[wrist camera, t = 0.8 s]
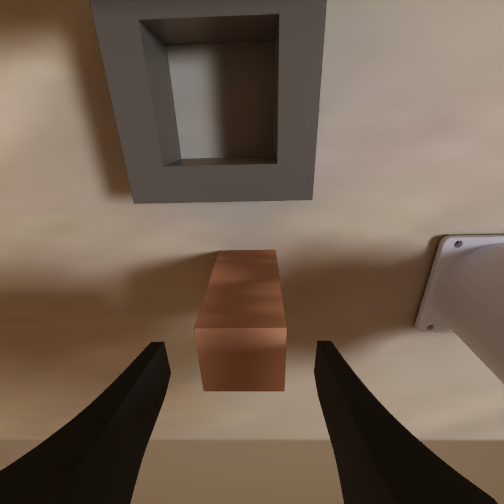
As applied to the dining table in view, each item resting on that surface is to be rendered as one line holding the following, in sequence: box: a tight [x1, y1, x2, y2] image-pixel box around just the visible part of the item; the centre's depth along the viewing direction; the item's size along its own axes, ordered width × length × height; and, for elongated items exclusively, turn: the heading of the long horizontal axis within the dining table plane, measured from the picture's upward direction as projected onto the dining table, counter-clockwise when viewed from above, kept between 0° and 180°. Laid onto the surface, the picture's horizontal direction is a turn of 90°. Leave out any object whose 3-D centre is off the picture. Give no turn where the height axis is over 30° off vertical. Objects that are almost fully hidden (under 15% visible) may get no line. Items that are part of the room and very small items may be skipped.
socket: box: [89, 0, 327, 204], centre depth 13 cm, size 9×9×4 cm
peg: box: [194, 250, 287, 391], centre depth 16 cm, size 4×4×8 cm
